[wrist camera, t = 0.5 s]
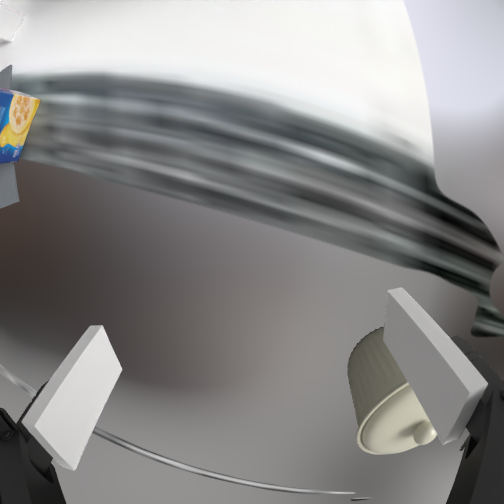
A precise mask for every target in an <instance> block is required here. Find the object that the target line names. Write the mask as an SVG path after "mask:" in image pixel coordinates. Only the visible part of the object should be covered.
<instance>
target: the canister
mask: <svg viewBox="0 0 504 504" xmlns="http://www.w3.org/2000/svg"><path fill="white" fill-rule="evenodd" d="M383 335H384V327H380V328H379V329H376V330H374V331H373V332H370V333H369V334H368V335H366V336H365V337H364V338H363V339H361V341H360V342H359V343H357V345H356V347H355V348H354V349H353V352H352V353H351V356H350V358H349V363H348V378H349V384H350V389H351V394H352V399H353V404H354V408H355V414H356V418H357V424H358V430H357V435H356V441H357V444H358V446H359V447H360V448H361V449H362V450H363V451H365V452H368V453H371V454H393V453H399V452H403V451H406V450H409V449H412V448H414V447H416V446H418V445H424V444H427V443H429V442H431V441H432V440H433V439H434V438H435V437H436V435H437V433H436V431H435V429H434V428H433V426H432V424H431V422H430V420H429V418H428V416H427V415H426V413H425V411H424V409H423V407H422V406H421V404H420V402H419V400H418V398H417V397H416V395H415V393H414V391H413V390H412V388H411V386H410V385H409V383H408V381H407V379H406V378H405V376H404V374H403V373H402V371H401V369H400V368H399V366H398V364H397V363H396V361H395V359H394V358H393V356H392V354H391V353H390V351H389V349H388V348H387V346H386V345H385V343H384V341H383Z"/></svg>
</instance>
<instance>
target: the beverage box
mask: <svg viewBox="0 0 504 504" xmlns="http://www.w3.org/2000/svg"><path fill="white" fill-rule="evenodd" d="M40 101H41V100H39V99H37V98H34V97H32V96H29V95H27V94H24V93H21V92H19V91H15V90H10V89H5V88H1V87H0V164H2V163H10V162H18V160H19V157H20V154H21V151H22V148H23V145H24V142H25V139H26V136H27V133H28V131H29V128H30V125H31V123H32V120H33V118H34V115H35V113H36V110H37V108H38V106H39V103H40Z"/></svg>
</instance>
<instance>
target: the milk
mask: <svg viewBox="0 0 504 504" xmlns="http://www.w3.org/2000/svg"><path fill="white" fill-rule="evenodd" d="M24 16H25V15H24V14H22V13H20V12H18V11H16V10H13V9H11V8H9V7H7V6H4V5H2V4H0V42H11V41H12V39H13V37H14V35H15V33H16V31H17V29H18V27H19V25H20V23H21V21H22V20H23V18H24Z"/></svg>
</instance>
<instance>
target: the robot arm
mask: <svg viewBox="0 0 504 504" xmlns="http://www.w3.org/2000/svg"><path fill="white" fill-rule="evenodd" d="M383 341H384V343H385V345H386V346H387V348H388V349H389V351H390V353H391V354H392V356H393V358H394V359H395V361H396V363H397V364H398V366H399V368H400V369H401V371H402V373H403V374H404V376H405V378H406V379H407V381H408V383H409V385H410V386H411V388H412V390H413V391H414V393H415V395H416V397H417V398H418V400H419V402H420V404H421V406H422V407H423V409H424V411H425V413H426V415H427V416H428V418H429V420H430V422H431V424H432V426H433V428H434V429H435V431H436V433H437V435H438V437H439V439H440V441H441V443H442V445H444V444H446V443H449V442H451V441H453V440H455V439H457V438H459V437H460V436H461V435H462V433H463V431H464V429H465V428H467V429H468V431H469V433H470V434H469V436H468V437H467V439H466V441H465V442H464V444H463V445H462V447H461V449H460V451H462V450H463V449H464V447H465V449H464V453H463V456H462V460H461V463H460V466H459V469H458V472H457V475H456V478H455V481H454V484H453V487H452V489H451V492H450V495H449V497H448V500H447V502H446V504H504V381H502V380H501V379H500V378H499V376H498V375H497V374H496V373H495V372H494V370H493V369H492V368H491V367H490V366H489V365H488V364H487V362H486V361H485V360H484V359H483V358H481V356H480V354H479V353H478V352H477V351H475V349H474V348H473V347H472V346H471V345H470V344H469V343H468V342H467V341H466V340H464V339H462V338H460V337H458V336H455V337H452V338H449V337H448V335H447V334H446V333H445V332H444V331H443V330H442V329H441V328H440V327H439V326H438V324H437V323H436V322H435V321H434V320H433V319H432V318H431V317H430V316H429V315H428V314H427V313H426V312H425V311H424V309H423V308H422V307H420V305H419V304H418V303H417V302H416V301H415V300H414V299H413V298H412V297H411V296H410V295H409V294H408V293H407V292H406V291H405V290H404V289H403V288H402V287H401V288H397V289H391V290H388V291H387V302H386V315H385V326H384V335H383ZM121 371H122V368H121V366H120V363H119V361H118V359H117V357H116V356H115V353H114V351H113V348H112V346H111V344H110V342H109V339H108V337H107V335H106V332H105V330H104V328H103V326H102V325H101V326H90V327H89V328H88V329H87V331H86V332H85V333H84V335H83V336H82V337H81V338H80V340H79V341H78V342H77V344H76V345H75V346H74V348H73V349H72V350H71V352H70V353H69V354H68V355H67V357H66V358H65V360H64V361H63V362H62V364H61V365H60V366H59V368H58V369H57V370H56V372H55V373H54V375H53V376H52V377H51V379H50V380H49V381H47V382H46V383H45V384H44V385H43V386H41V388H40V389H39V391H38V392H37V393H36V396H34V398H33V399H32V402H31V403H30V404H29V405H28V407H27V408H26V410H25V411H24V413H23V414H22V416H21V417H20V419H19V421H18V422H17V423H16V424H15V422H14V421H13V420H12V419H11V417H10V416H9V415H8V413H7V412H6V411H5V410H4V409H3V408H0V504H66V501H65V499H64V496H63V493H62V490H61V487H60V484H59V481H58V478H57V474H56V471H55V468H54V466H53V465H52V464H51V461H52V459H54V460H55V461H56V462H57V463H58V464H59V465H60V466H61V467H64V468H68V469H71V470H74V471H75V470H76V467H77V465H78V463H79V460H80V458H81V455H82V453H83V451H84V449H85V446H86V444H87V442H88V440H89V438H90V435H91V433H92V431H93V429H94V427H95V424H96V422H97V420H98V418H99V416H100V414H101V411H102V409H103V407H104V405H105V403H106V401H107V399H108V397H109V395H110V393H111V391H112V389H113V387H114V385H115V383H116V381H117V379H118V377H119V375H120V373H121Z"/></svg>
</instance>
